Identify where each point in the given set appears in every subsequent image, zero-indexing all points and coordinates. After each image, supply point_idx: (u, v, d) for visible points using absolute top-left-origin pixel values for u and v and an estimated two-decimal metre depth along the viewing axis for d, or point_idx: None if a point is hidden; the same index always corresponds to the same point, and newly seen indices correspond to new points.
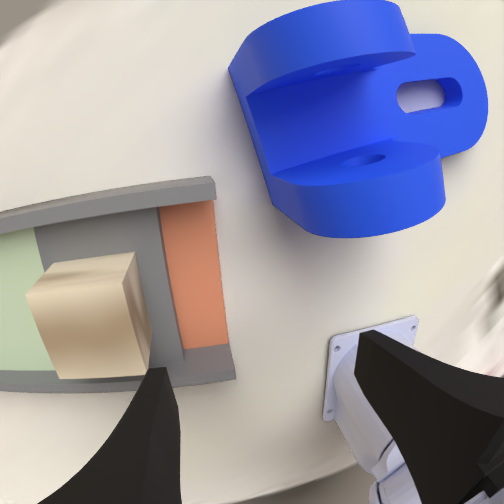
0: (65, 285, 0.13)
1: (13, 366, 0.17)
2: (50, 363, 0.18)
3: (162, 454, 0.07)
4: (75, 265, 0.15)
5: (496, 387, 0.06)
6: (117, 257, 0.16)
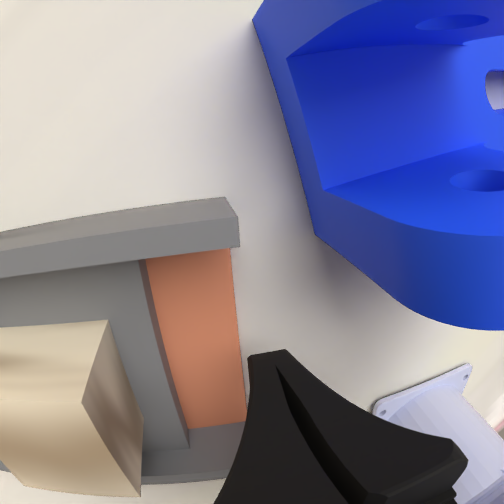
0: (0, 386, 0.06)
1: None
2: None
3: None
4: (22, 339, 0.09)
5: (391, 441, 0.05)
6: (81, 330, 0.09)
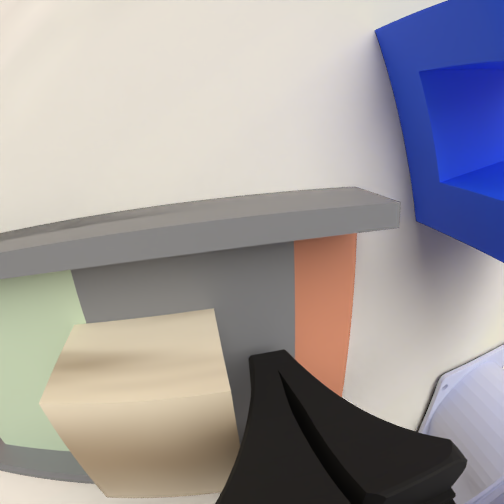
0: (112, 388, 0.07)
1: (41, 445, 0.12)
2: None
3: None
4: (115, 335, 0.09)
5: (389, 442, 0.05)
6: (188, 320, 0.10)
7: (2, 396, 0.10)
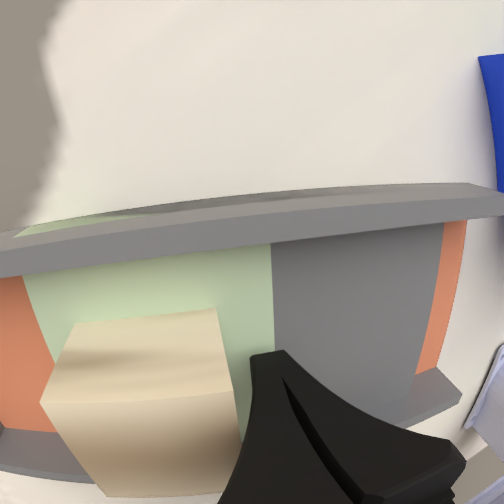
0: (113, 388, 0.07)
1: None
2: None
3: None
4: (117, 334, 0.09)
5: (388, 442, 0.05)
6: (190, 320, 0.10)
7: None
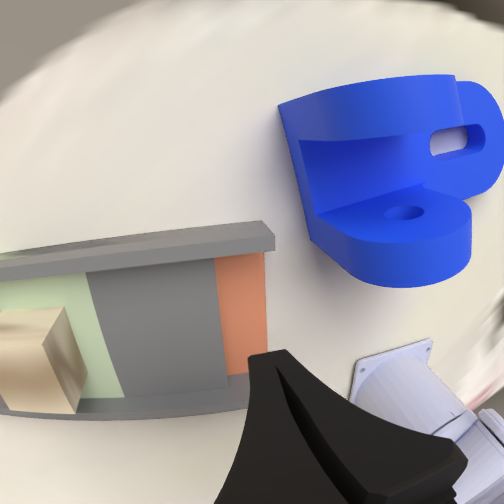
0: (3, 339, 0.13)
1: None
2: (95, 392, 0.19)
3: None
4: (16, 316, 0.15)
5: (390, 441, 0.05)
6: (49, 311, 0.16)
7: None
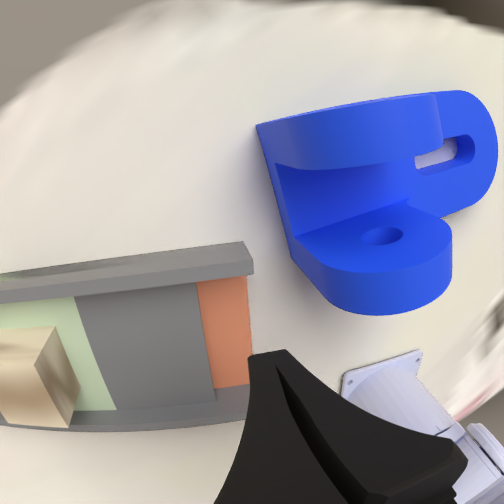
0: None
1: None
2: (88, 405, 0.19)
3: None
4: (10, 335, 0.16)
5: (390, 441, 0.05)
6: (40, 331, 0.16)
7: None
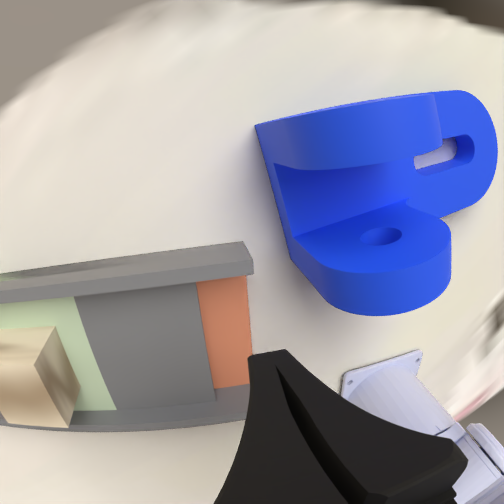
0: None
1: None
2: (88, 405, 0.19)
3: None
4: (10, 335, 0.16)
5: (390, 441, 0.05)
6: (40, 331, 0.16)
7: None
